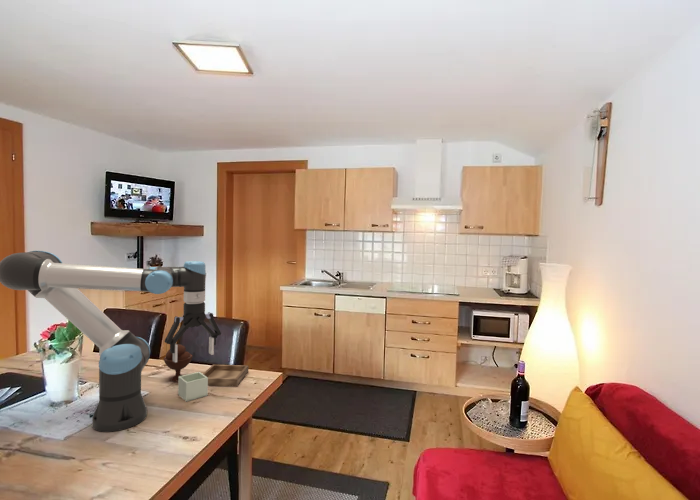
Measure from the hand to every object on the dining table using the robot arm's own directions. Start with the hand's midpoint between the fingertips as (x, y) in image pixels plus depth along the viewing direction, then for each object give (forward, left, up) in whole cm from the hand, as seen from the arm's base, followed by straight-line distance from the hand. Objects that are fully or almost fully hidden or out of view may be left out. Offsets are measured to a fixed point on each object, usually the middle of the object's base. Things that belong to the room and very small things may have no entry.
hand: (193, 357), depth 139 cm
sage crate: (0, 0, -14) cm, 15 cm away
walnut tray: (+6, +17, -14) cm, 23 cm away
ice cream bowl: (-13, +15, -15) cm, 25 cm away
